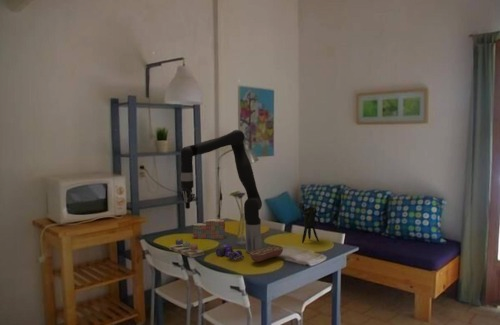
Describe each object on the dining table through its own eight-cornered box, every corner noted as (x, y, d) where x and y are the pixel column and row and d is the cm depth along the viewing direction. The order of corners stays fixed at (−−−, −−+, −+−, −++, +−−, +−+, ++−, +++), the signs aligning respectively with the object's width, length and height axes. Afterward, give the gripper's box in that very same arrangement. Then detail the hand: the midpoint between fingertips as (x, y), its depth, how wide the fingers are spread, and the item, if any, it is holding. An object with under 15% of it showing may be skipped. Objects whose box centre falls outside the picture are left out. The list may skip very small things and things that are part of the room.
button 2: (191, 246, 243) (191, 242, 243) (185, 247, 240) (185, 243, 240) (187, 245, 246) (187, 240, 246) (181, 246, 243) (181, 242, 243)
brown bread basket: (257, 265, 218) (257, 256, 218) (245, 261, 225) (245, 252, 225) (286, 256, 233) (286, 247, 233) (273, 252, 241) (273, 244, 240)
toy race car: (234, 261, 226) (234, 249, 225) (215, 256, 236) (215, 245, 235) (245, 257, 233) (245, 246, 233) (227, 252, 243) (226, 241, 242)
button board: (204, 254, 237) (204, 251, 237) (191, 257, 231) (191, 254, 231) (182, 246, 255) (181, 243, 255) (169, 249, 249) (169, 246, 249)
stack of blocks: (192, 238, 276) (192, 220, 275) (195, 236, 282) (194, 219, 281) (223, 239, 274) (223, 221, 273) (225, 236, 280) (224, 219, 280)
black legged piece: (310, 238, 273) (310, 201, 271) (325, 240, 265) (325, 203, 264) (293, 243, 259) (293, 205, 257) (308, 247, 251) (308, 207, 250)
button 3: (184, 243, 249) (184, 239, 249) (178, 245, 246) (178, 241, 246) (180, 242, 252) (180, 238, 252) (174, 243, 249) (174, 239, 249)
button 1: (199, 249, 237) (199, 244, 237) (193, 250, 234) (192, 246, 234) (195, 247, 240) (194, 243, 240) (188, 249, 237) (188, 244, 237)
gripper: (198, 180, 240) (199, 209, 241) (186, 178, 249) (186, 206, 251) (188, 181, 235) (188, 210, 236) (175, 179, 244) (176, 207, 245)
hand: (187, 208), depth 243 cm, fingers closed
